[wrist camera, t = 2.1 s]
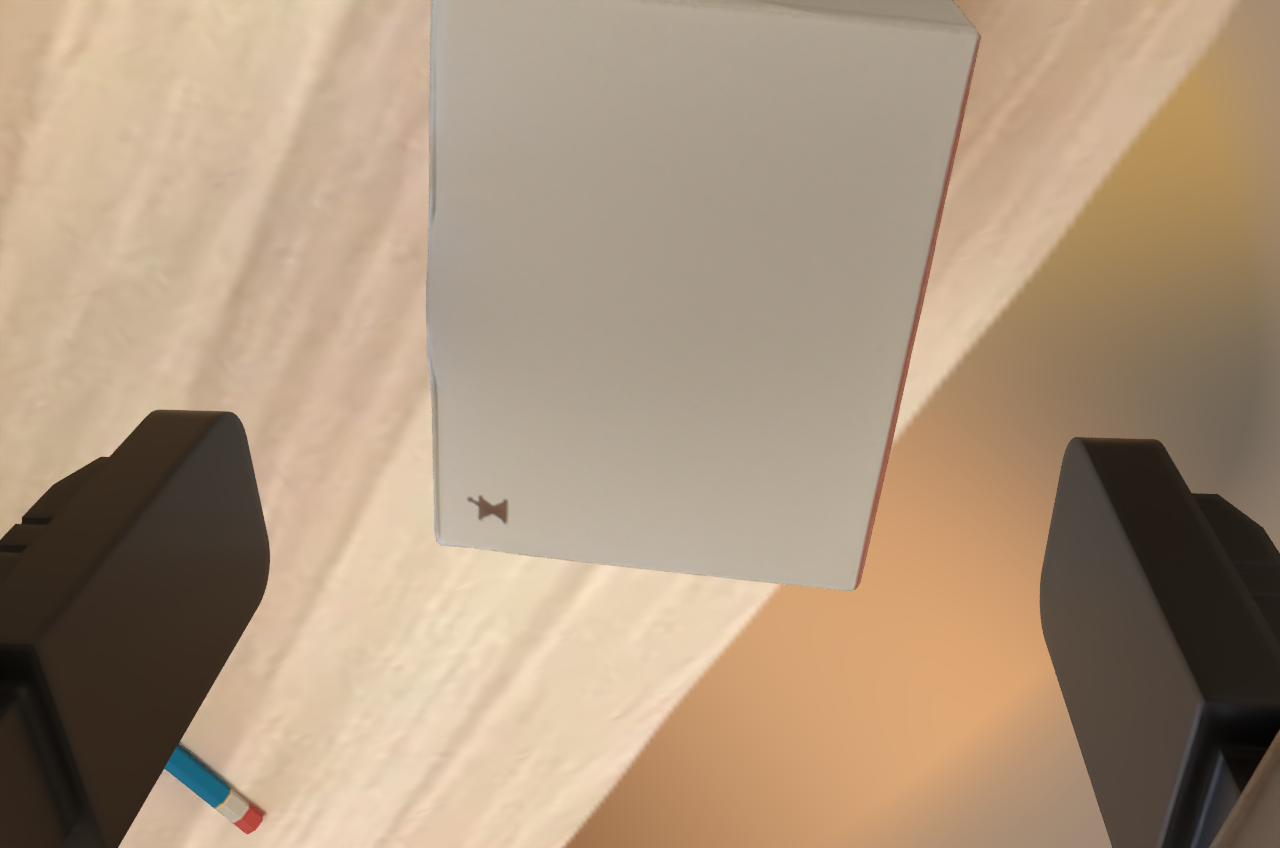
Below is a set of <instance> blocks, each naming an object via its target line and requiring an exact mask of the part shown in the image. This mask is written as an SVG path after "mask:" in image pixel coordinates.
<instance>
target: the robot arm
mask: <svg viewBox="0 0 1280 848" xmlns="http://www.w3.org/2000/svg"><path fill="white" fill-rule="evenodd" d="M269 565H270V549H269V541H268V535H267V530H266V526H265V521H264V516H263V512H262V507H261V502H260V497H259V493H258V488H257V483H256V479H255V474H254V469H253V464H252V460H251V455H250V450H249V446H248V441H247V436H246V433H245V429H244V427H243V424H242V422H241V421H240V419H239V418H238V417H237V415H235V414H234V413H232V412H224V411H188V410H155V411H153V412H151V413H150V414H149V415H148V416H147V417H146V418H145V419H144V420H143V421H142V422H141V423H140V424H139V425H138V426H137V427H136V429H135V430H134V431H133V432H132V433H131V434H130V435H129V436H128V437H127V438H126V439H125V441H124V442H123V443H122V444H121V445H120V446H119V447H118V448H117V449H116V450H115V451H114V453H113V454H112V455H111V456H110V457H100V458H98V459H96V460H95V461H93V462H91V463H89V464H88V465H86V466H84V467H83V468H81V469H79V470H77V471H76V472H74V473H72V474H71V475H69V476H67V477H66V478H64V479H62V480H60V481H59V482H57V483H55V484H54V485H53V486H52V487H51V488H50V489H49V490H48V491H47V492H46V493H45V494H44V495H43V496H42V497H41V498H40V499H39V500H38V501H37V502H36V503H35V504H34V505H33V506H32V507H31V508H30V510H29V511H28V512H27V513H26V514H25V515H24V516H23V517H22V524H15V525H14V526H13V527H12V528H11V529H10V530H9V531H8V532H7V534H6V535H5V536H4V537H3V538H2V539H1V540H0V848H118V847H119V845H120V843H121V841H122V840H123V838H124V836H125V835H126V833H127V831H128V829H129V828H130V826H131V824H132V823H133V821H134V819H135V817H136V816H137V814H138V812H139V811H140V809H141V807H142V805H143V804H144V802H145V800H146V799H147V797H148V795H149V793H150V792H151V790H152V788H153V787H154V785H155V783H156V781H157V780H158V778H159V776H160V774H161V773H162V771H163V769H164V768H165V766H166V764H167V762H168V761H169V759H170V757H171V756H172V754H173V752H174V750H175V749H176V747H177V745H178V744H179V742H180V740H181V738H182V737H183V735H184V733H185V732H186V730H187V728H188V726H189V725H190V723H191V721H192V720H193V718H194V716H195V714H196V713H197V711H198V709H199V707H200V706H201V704H202V702H203V701H204V699H205V697H206V695H207V694H208V692H209V690H210V689H211V687H212V685H213V683H214V682H215V680H216V678H217V677H218V675H219V673H220V671H221V670H222V668H223V666H224V665H225V663H226V661H227V659H228V658H229V656H230V654H231V653H232V651H233V649H234V647H235V646H236V644H237V642H238V641H239V639H240V637H241V635H242V634H243V632H244V630H245V628H246V627H247V625H248V623H249V622H250V620H251V618H252V616H253V615H254V613H255V611H256V610H257V608H258V606H259V604H260V602H261V600H262V598H263V595H264V593H265V589H266V585H267V581H268V575H269ZM1040 613H1041V623H1042V629H1043V634H1044V638H1045V641H1046V645H1047V648H1048V651H1049V654H1050V656H1051V660H1052V663H1053V666H1054V669H1055V672H1056V675H1057V678H1058V682H1059V685H1060V688H1061V691H1062V694H1063V697H1064V700H1065V703H1066V706H1067V709H1068V712H1069V715H1070V718H1071V722H1072V725H1073V728H1074V731H1075V734H1076V737H1077V740H1078V743H1079V746H1080V749H1081V752H1082V755H1083V758H1084V762H1085V765H1086V768H1087V771H1088V774H1089V777H1090V780H1091V783H1092V786H1093V789H1094V792H1095V796H1096V798H1097V802H1098V805H1099V808H1100V811H1101V814H1102V817H1103V820H1104V823H1105V826H1106V829H1107V832H1108V836H1109V838H1110V841H1111V845H1112V848H1280V553H1279V552H1278V550H1277V549H1276V547H1275V546H1274V544H1273V542H1272V541H1271V539H1270V538H1269V536H1268V535H1267V533H1266V532H1265V530H1264V529H1263V528H1262V527H1261V526H1260V525H1259V524H1257V523H1256V522H1255V521H1253V520H1251V519H1250V518H1249V517H1248V516H1246V515H1245V514H1244V513H1242V512H1241V511H1240V510H1238V509H1237V508H1236V507H1234V506H1233V505H1232V504H1230V503H1229V502H1228V501H1226V500H1225V499H1224V498H1222V497H1221V496H1219V495H1218V494H1194V493H1191V492H1190V490H1189V488H1188V486H1187V485H1186V483H1185V481H1184V480H1183V478H1182V476H1181V475H1180V473H1179V471H1178V469H1177V468H1176V466H1175V464H1174V463H1173V461H1172V459H1171V458H1170V456H1169V454H1168V452H1167V451H1166V449H1165V447H1164V446H1163V444H1162V443H1161V442H1159V441H1158V440H1154V439H1119V438H1083V437H1075V438H1073V439H1072V440H1071V441H1070V442H1069V444H1068V446H1067V448H1066V451H1065V454H1064V458H1063V462H1062V467H1061V472H1060V477H1059V483H1058V488H1057V493H1056V498H1055V504H1054V509H1053V514H1052V519H1051V525H1050V530H1049V535H1048V541H1047V546H1046V551H1045V556H1044V562H1043V567H1042V573H1041V582H1040Z"/></svg>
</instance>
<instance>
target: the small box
mask: <svg viewBox="0 0 1280 848" xmlns="http://www.w3.org/2000/svg"><path fill="white" fill-rule="evenodd" d="M980 39H981V36H980V34H979V33H978V31H977V30H976V28H975V27H974V26H973V24H972V23H971V22H970V21H969V19H968V18H967V17H966V16H965V15H964V14H963V12H962V11H961V10H960V9H959V7H958V6H957V5H956V4H955V2H954V1H953V0H431V30H430V97H429V151H430V153H429V239H428V261H427V279H426V317H427V357H428V367H429V373H430V384H431V398H432V433H433V480H434V533H435V538H436V542H438V543H439V544H440V545H441V546H454V547H468V548H475V549H483V550H490V551H497V552H505V553H512V554H519V555H527V556H535V557H543V558H551V559H560V560H568V561H577V562H586V563H595V564H603V565H612V566H621V567H630V568H638V569H647V570H656V571H665V572H676V573H685V574H693V575H704V576H715V577H723V578H731V579H740V580H749V581H757V582H767V583H776V584H786V585H797V586H810V587H819V588H827V589H834V590H843V591H853V590H855V589H856V588H857V587H858V586H859V584H860V582H861V577H862V573H863V569H864V565H865V560H866V556H867V551H868V547H869V543H870V538H871V534H872V529H873V525H874V521H875V516H876V512H877V508H878V503H879V498H880V494H881V490H882V485H883V481H884V477H885V472H886V467H887V463H888V458H889V454H890V450H891V445H892V441H893V436H894V432H895V427H896V422H897V418H898V413H899V409H900V404H901V400H902V395H903V391H904V386H905V382H906V377H907V373H908V368H909V363H910V358H911V353H912V349H913V345H914V341H915V336H916V332H917V327H918V323H919V319H920V314H921V310H922V306H923V301H924V296H925V292H926V287H927V283H928V278H929V274H930V269H931V264H932V260H933V255H934V250H935V245H936V239H937V235H938V231H939V227H940V222H941V218H942V213H943V208H944V204H945V199H946V195H947V190H948V185H949V181H950V176H951V172H952V167H953V163H954V159H955V154H956V150H957V145H958V141H959V136H960V131H961V127H962V122H963V118H964V113H965V108H966V104H967V99H968V94H969V90H970V85H971V80H972V76H973V71H974V66H975V62H976V57H977V52H978V47H979V43H980Z"/></svg>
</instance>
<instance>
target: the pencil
mask: <svg viewBox="0 0 1280 848" xmlns="http://www.w3.org/2000/svg"><path fill="white" fill-rule="evenodd" d="M165 769H166V770H167V771H168V772H170V773H171V774H172V775H173V776H175V777H176V778H177V779H178V780H180V781H181V782H182V783H183V784H185V785H186V786H187V787H188V788H190V789H191V790H192V791H193V792H195V793H196V794H197V795H198V796H200V797H201V798H202V799H203V800H205V801H206V802H207V803H208V804H210V805H211V806H212V807H213V808H215V809H216V810H217V811H218V812H220V813H221V814H222V815H223V816H225V817H226V818H227V819H228V820H230V821H231V822H232V823H233V824H235V825H236V826H237V827H238V828H240V829H241V830H242V831H243V832H245V833H246V834H249V833H251V832H253V831H255V830H256V829H257V827H258V826H259V825H260V823H261V822H262V821H263V819H262V814H261V813H260V812H259V811H258V810H256V809H255V808H254V807H253V806H251V805H250V804H249V803H248V802H247V801H245V800H244V799H243V798H242V797H240V796H239V795H238V794H237V793H235V792H234V791H233V790H232V789H231V788H229V787H228V786H227V785H226V784H224V783H223V782H222V781H221V780H219V779H218V778H217V777H216V776H215V775H213V774H212V773H211V772H210V771H208V770H207V769H206V768H205V767H204V766H202V765H201V764H200V763H199V762H197V761H196V760H195V759H194V758H192V757H191V756H190V755H189V754H188V753H186V752H185V751H184V750H183V749H181V748H180V747H179V746H178V745H177V747H176V749H175V750H174V752H173V754H172V756H171V757H170V759H169V761H168V762H167V764H166V766H165Z"/></svg>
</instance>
